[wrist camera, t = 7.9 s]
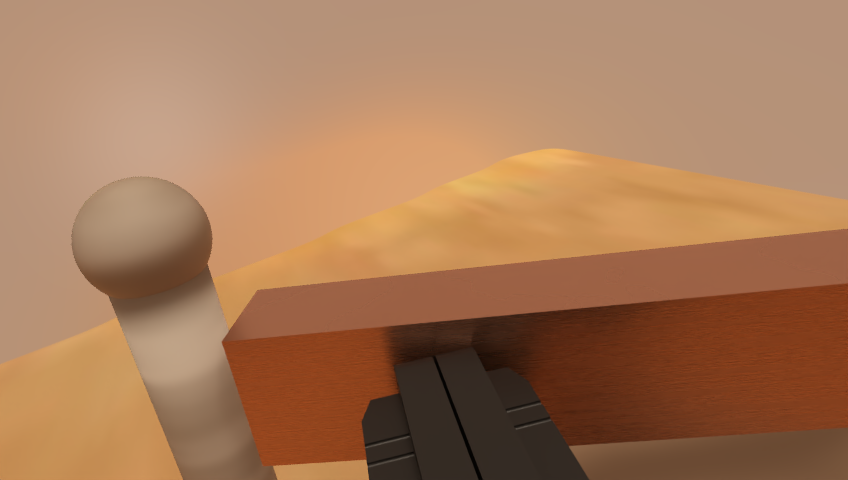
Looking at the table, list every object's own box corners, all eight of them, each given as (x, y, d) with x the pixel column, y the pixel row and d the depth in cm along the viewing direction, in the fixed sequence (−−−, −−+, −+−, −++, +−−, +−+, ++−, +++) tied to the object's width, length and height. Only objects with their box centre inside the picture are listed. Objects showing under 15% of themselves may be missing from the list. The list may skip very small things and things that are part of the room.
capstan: (1060, 535, 16) (1245, 58, 11) (1369, 816, 11) (2007, 121, 6) (367, 566, 18) (266, 182, 13) (326, 809, 13) (129, 312, 8)
